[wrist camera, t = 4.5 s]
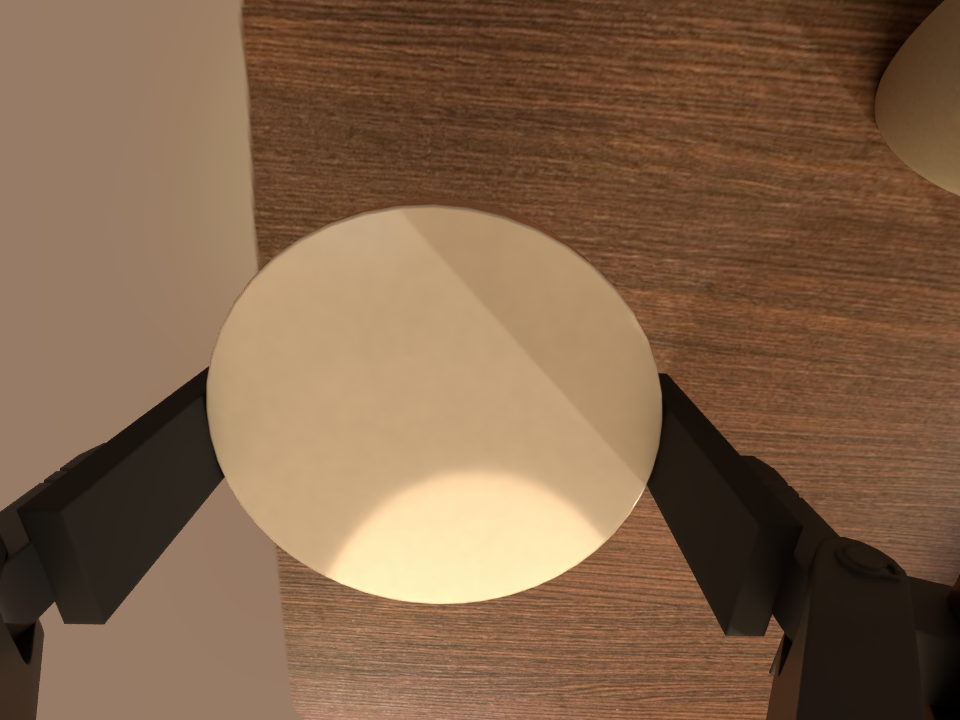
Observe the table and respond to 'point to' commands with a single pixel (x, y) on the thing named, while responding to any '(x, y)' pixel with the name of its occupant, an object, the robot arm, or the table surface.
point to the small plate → (434, 402)
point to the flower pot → (925, 99)
